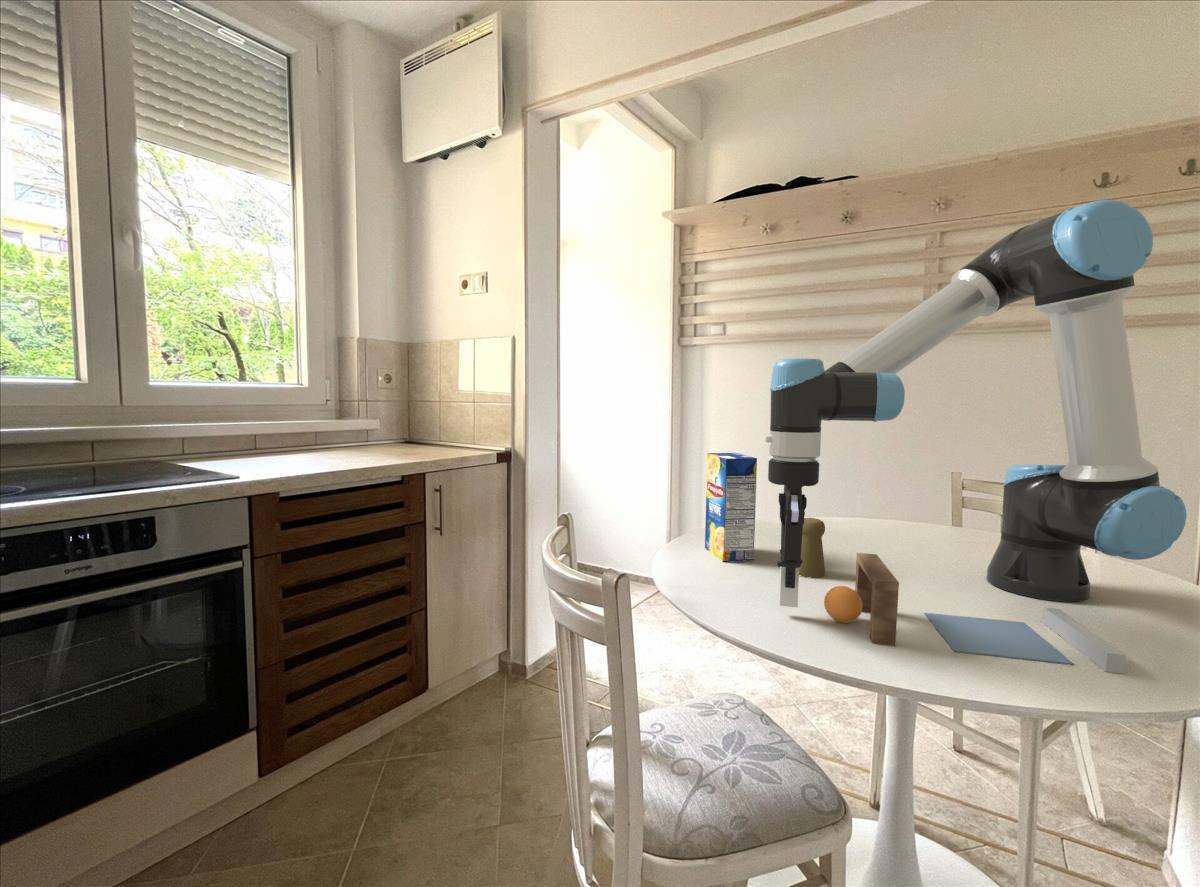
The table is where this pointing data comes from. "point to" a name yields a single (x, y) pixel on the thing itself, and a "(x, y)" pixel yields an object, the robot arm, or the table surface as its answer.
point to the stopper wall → (1085, 641)
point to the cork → (812, 549)
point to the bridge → (878, 597)
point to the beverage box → (730, 506)
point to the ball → (843, 604)
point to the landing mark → (995, 638)
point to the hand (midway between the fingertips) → (788, 604)
